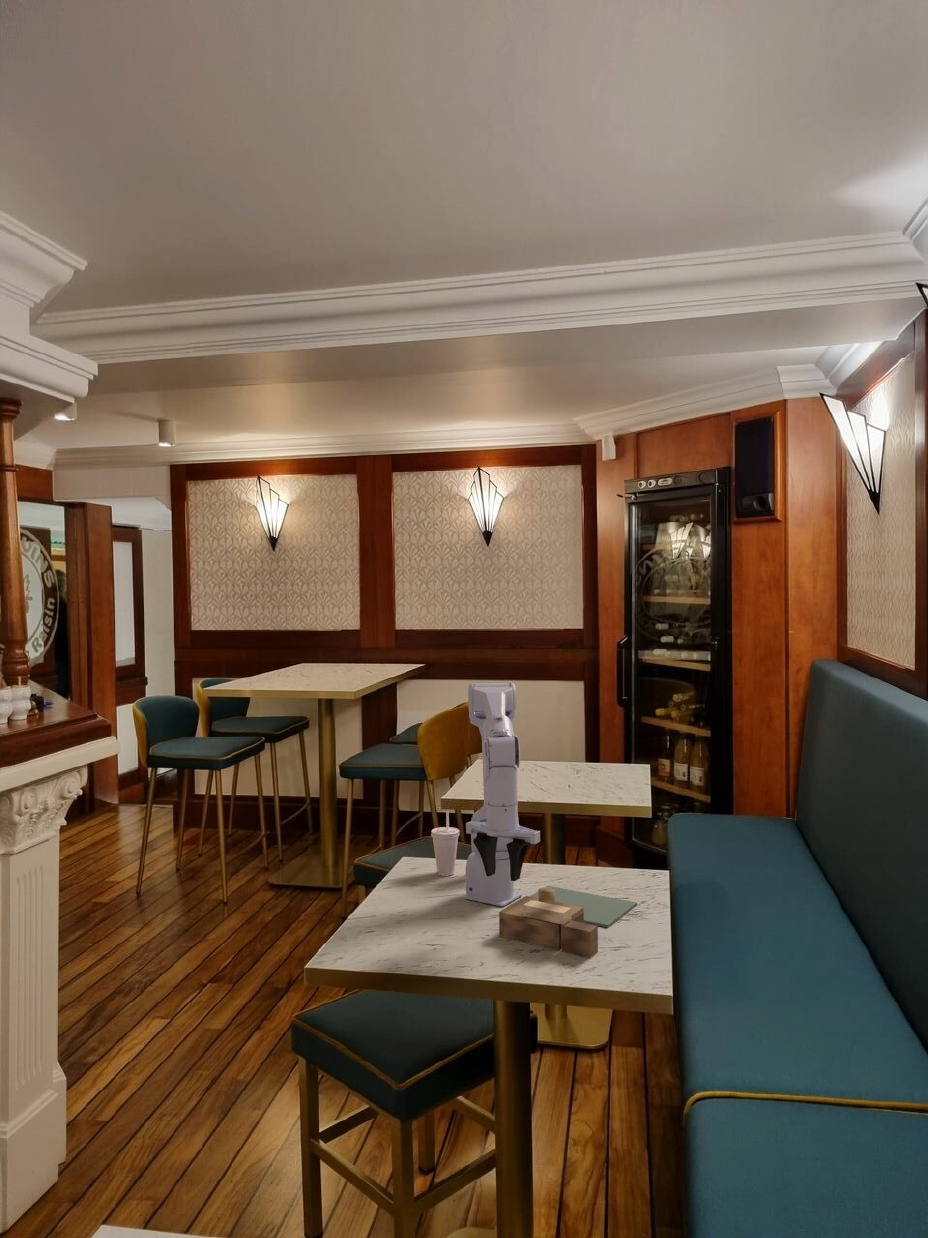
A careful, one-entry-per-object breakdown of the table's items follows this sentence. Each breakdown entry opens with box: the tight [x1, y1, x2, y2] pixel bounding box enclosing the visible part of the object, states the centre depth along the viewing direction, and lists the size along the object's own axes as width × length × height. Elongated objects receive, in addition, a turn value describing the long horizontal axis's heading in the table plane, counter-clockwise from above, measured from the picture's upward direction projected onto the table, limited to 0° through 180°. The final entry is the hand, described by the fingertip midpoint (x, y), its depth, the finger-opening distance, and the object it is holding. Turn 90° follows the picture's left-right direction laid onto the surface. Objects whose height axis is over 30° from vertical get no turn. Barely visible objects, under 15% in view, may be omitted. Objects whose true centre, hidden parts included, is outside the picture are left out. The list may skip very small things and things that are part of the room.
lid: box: [498, 886, 584, 931], centre depth 158 cm, size 12×10×4 cm
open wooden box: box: [498, 913, 599, 959], centre depth 156 cm, size 18×10×4 cm, turn 57°
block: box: [523, 900, 571, 925], centre depth 153 cm, size 8×3×2 cm, turn 57°
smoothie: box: [430, 810, 460, 877], centre depth 194 cm, size 6×6×14 cm
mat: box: [529, 885, 638, 929], centre depth 172 cm, size 20×14×1 cm
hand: (502, 877), depth 158 cm, fingers open, 5 cm apart
